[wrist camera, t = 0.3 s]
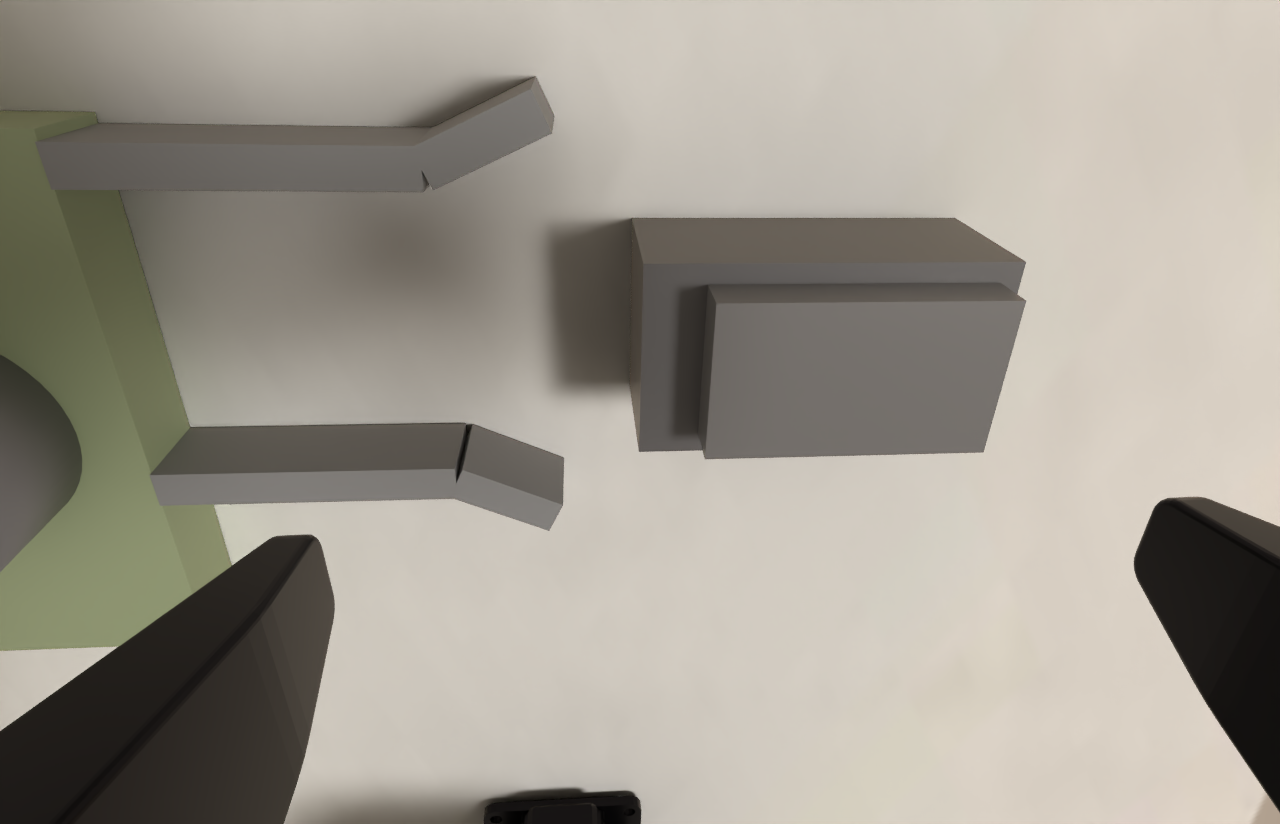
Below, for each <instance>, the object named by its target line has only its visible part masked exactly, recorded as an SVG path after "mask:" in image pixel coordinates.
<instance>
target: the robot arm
mask: <svg viewBox="0 0 1280 824" xmlns="http://www.w3.org/2000/svg"><path fill="white" fill-rule="evenodd" d="M1134 571H1135V574H1136V577H1137V580H1138V582H1139V584H1140V585H1141V587H1142V589H1143V591H1144V593H1145V595H1146V596H1147V598H1148V600H1149V602H1150V604H1151V605H1152V607H1153V609H1154V611H1155V613H1156V614H1157V616H1158V618H1159V620H1160V622H1161V624H1162V625H1163V627H1164V629H1165V631H1166V633H1167V634H1168V636H1169V638H1170V640H1171V642H1172V643H1173V645H1174V647H1175V649H1176V651H1177V653H1178V654H1179V656H1180V658H1181V660H1182V662H1183V663H1184V665H1185V667H1186V669H1187V671H1188V672H1189V674H1190V676H1191V678H1192V680H1193V682H1194V683H1195V685H1196V687H1197V688H1198V690H1199V692H1200V694H1201V695H1202V697H1203V699H1204V700H1205V702H1206V704H1207V705H1208V707H1209V708H1210V710H1211V711H1212V713H1213V715H1214V716H1215V718H1216V719H1217V721H1218V722H1219V724H1220V725H1221V727H1222V728H1223V730H1224V731H1225V733H1226V734H1227V736H1228V737H1229V739H1230V740H1231V742H1232V743H1233V744H1234V746H1235V747H1236V749H1237V750H1238V752H1239V753H1240V755H1241V756H1242V758H1243V759H1244V761H1245V762H1246V764H1247V765H1248V767H1249V768H1250V770H1251V771H1252V772H1253V774H1254V775H1255V777H1256V778H1257V780H1258V781H1259V783H1260V784H1261V786H1262V787H1263V789H1264V790H1265V792H1266V793H1267V795H1268V796H1269V798H1270V799H1271V801H1272V802H1273V803H1274V805H1275V806H1276V808H1277V809H1278V811H1279V812H1280V527H1279V526H1276V525H1274V524H1271V523H1269V522H1266V521H1264V520H1261V519H1259V518H1256V517H1253V516H1251V515H1248V514H1246V513H1243V512H1241V511H1238V510H1236V509H1233V508H1230V507H1228V506H1225V505H1223V504H1220V503H1218V502H1215V501H1213V500H1210V499H1207V498H1203V497H1179V498H1167V499H1164V500H1162V501H1160V502H1159V503H1158V504H1157V505H1156V506H1155V508H1154V509H1153V511H1152V514H1151V516H1150V519H1149V521H1148V524H1147V526H1146V529H1145V531H1144V534H1143V536H1142V539H1141V541H1140V544H1139V546H1138V548H1137V551H1136V553H1135V557H1134ZM334 610H335V603H334V595H333V590H332V586H331V582H330V578H329V574H328V570H327V566H326V562H325V558H324V554H323V550H322V547H321V544H320V542H319V540H318V539H317V538H316V537H314V536H313V535H285V536H275V537H272V538H271V539H269V540H267V541H266V542H264V543H263V544H262V545H260V546H259V547H257V548H256V549H255V550H253V551H252V552H250V553H249V554H248V555H246V556H245V557H243V558H242V559H241V560H239V561H238V562H236V563H235V564H234V565H232V566H231V567H229V568H228V569H227V570H225V571H224V572H222V573H221V574H220V575H218V576H217V577H215V578H214V579H213V580H211V581H210V582H208V583H207V584H206V585H204V586H203V587H201V588H200V589H199V590H197V591H196V592H194V593H193V594H192V595H190V596H189V597H187V598H186V599H185V600H183V601H182V602H180V603H179V604H178V605H176V606H175V607H173V608H172V609H171V610H169V611H168V612H166V613H165V614H164V615H162V616H161V617H159V618H158V619H157V620H155V621H154V622H152V623H151V624H150V625H148V626H147V627H145V628H144V629H143V630H141V631H140V632H138V633H137V634H136V635H134V636H133V637H131V638H130V639H129V640H127V641H126V642H124V643H123V644H122V645H120V646H119V647H117V648H116V649H115V650H113V651H112V652H110V653H109V654H108V655H106V656H105V657H103V658H102V659H101V660H99V661H98V662H96V663H95V664H94V665H92V666H91V667H89V668H88V669H87V670H85V671H84V672H82V673H81V674H80V675H78V676H77V677H75V678H74V679H73V680H71V681H70V682H68V683H67V684H66V685H64V686H63V687H61V688H60V689H59V690H57V691H56V692H54V693H53V694H52V695H50V696H49V697H47V698H46V699H45V700H43V701H42V702H40V703H39V704H38V705H36V706H35V707H33V708H32V709H31V710H29V711H28V712H26V713H25V714H24V715H22V716H21V717H19V718H18V719H17V720H15V721H14V722H12V723H11V724H10V725H8V726H7V727H5V728H4V729H3V730H1V731H0V824H284V821H285V818H286V815H287V812H288V809H289V806H290V803H291V800H292V797H293V794H294V790H295V787H296V784H297V781H298V778H299V774H300V771H301V768H302V764H303V761H304V758H305V753H306V749H307V745H308V740H309V736H310V731H311V727H312V722H313V717H314V712H315V707H316V702H317V697H318V693H319V688H320V683H321V678H322V673H323V668H324V663H325V659H326V654H327V649H328V644H329V639H330V634H331V629H332V625H333V619H334ZM484 824H641V804H640V800H639V799H638V798H637V797H634V796H616V797H598V798H579V799H561V800H543V801H524V802H506V803H494V804H490V805H488V806H487V807H486V808H485V814H484Z"/></svg>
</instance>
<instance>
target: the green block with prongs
mask: <svg viewBox="0 0 1280 824" xmlns="http://www.w3.org/2000/svg"><path fill="white" fill-rule="evenodd" d="M553 122H554V114H553V112H552V110H551V108H550V106H549V104H548V101H547V99H546V97H545V95H544V93H543V91H542V89H541V86H540V84H539V82H538V80H537V78H536V76H535V77H533V78H531V79H529V80H527V81H525V82H523V83H521V84H519V85H517V86H515V87H513V88H511V89H509V90H507V91H505V92H503V93H501V94H499V95H497V96H495V97H493V98H491V99H489V100H487V101H485V102H483V103H481V104H479V105H477V106H475V107H473V108H471V109H469V110H467V111H465V112H462V113H460V114H458V115H456V116H454V117H452V118H450V119H448V120H446V121H444V122H442V123H440V124H438V125H436V126H434V127H358V126H282V125H206V124H131V123H98V121H97V117H96V114H95V112H58V111H0V651H8V650H35V649H61V648H88V647H115V646H120V645H122V644H123V643H124V642H126V641H127V640H129V639H130V638H131V637H133V636H134V635H136V634H137V633H138V632H140V631H141V630H143V629H144V628H145V627H147V626H148V625H150V624H151V623H152V622H154V621H155V620H157V619H158V618H159V617H161V616H162V615H164V614H165V613H166V612H168V611H169V610H171V609H172V608H173V607H175V606H176V605H178V604H179V603H180V602H182V601H183V600H185V599H186V598H187V597H189V596H190V595H192V594H193V593H194V592H196V591H197V590H199V589H200V588H201V587H203V586H204V585H206V584H207V583H208V582H210V581H211V580H213V579H214V578H215V577H217V576H218V575H220V574H221V573H222V572H224V571H225V570H227V569H228V568H229V567H231V566H232V565H231V562H230V558H229V555H228V552H227V548H226V545H225V542H224V538H223V535H222V532H221V529H220V525H219V522H218V519H217V515H216V512H215V509H214V505H213V504H254V503H296V502H338V501H380V500H422V499H456V500H459V501H462V502H465V503H468V504H471V505H474V506H477V507H480V508H483V509H486V510H489V511H492V512H495V513H498V514H501V515H504V516H507V517H510V518H513V519H516V520H519V521H522V522H525V523H528V524H531V525H534V526H537V527H540V528H542V529H545V530H548V531H549V530H550V528H551V526H552V525H553V523H554V521H555V519H556V517H557V515H558V513H559V512H560V510H561V508H562V506H563V478H564V458H563V457H560V456H557V455H555V454H552V453H549V452H547V451H544V450H541V449H538V448H536V447H533V446H530V445H528V444H525V443H522V442H519V441H517V440H514V439H511V438H509V437H506V436H503V435H500V434H498V433H495V432H492V431H489V430H487V429H484V428H481V427H479V426H476V425H472V427H471V430H470V432H469V434H468V436H467V432H466V423H451V424H390V425H329V426H268V427H207V428H190V426H189V422H188V419H187V416H186V412H185V409H184V406H183V403H182V399H181V396H180V393H179V389H178V386H177V383H176V379H175V376H174V373H173V369H172V366H171V363H170V359H169V356H168V353H167V350H166V346H165V343H164V340H163V336H162V333H161V330H160V326H159V323H158V320H157V316H156V313H155V310H154V306H153V303H152V300H151V296H150V293H149V290H148V287H147V283H146V280H145V277H144V273H143V270H142V267H141V263H140V260H139V257H138V253H137V250H136V247H135V243H134V240H133V237H132V234H131V230H130V227H129V224H128V220H127V217H126V214H125V210H124V207H123V204H122V200H121V197H120V194H119V190H176V191H324V192H424V191H425V190H426V188H427V187H428V186H429V184H430V186H431V187H432V189H433V190H435V189H437V188H439V187H441V186H443V185H445V184H447V183H449V182H451V181H454V180H456V179H458V178H460V177H462V176H464V175H466V174H468V173H470V172H472V171H474V170H476V169H479V168H481V167H483V166H485V165H487V164H489V163H491V162H493V161H495V160H497V159H499V158H501V157H503V156H506V155H508V154H510V153H512V152H514V151H516V150H518V149H520V148H522V147H524V146H526V145H528V144H531V143H533V142H535V141H537V140H539V139H541V138H543V137H545V136H547V135H549V134H551V133H552V129H553Z"/></svg>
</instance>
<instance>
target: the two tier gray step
mask: <svg viewBox="0 0 1280 824" xmlns="http://www.w3.org/2000/svg"><path fill="white" fill-rule="evenodd" d="M1025 264H1026V262H1025V261H1024V260H1022V259H1020V258H1019V257H1017V256H1015V255H1014V254H1012V253H1011V252H1009V251H1007V250H1006V249H1004V248H1003V247H1001V246H999V245H998V244H996V243H995V242H993V241H991V240H990V239H988V238H986V237H985V236H983V235H982V234H980V233H978V232H977V231H975V230H974V229H972V228H970V227H969V226H967V225H966V224H964V223H962V222H961V221H959V220H957V219H956V218H632V249H631V313H630V376H629V385H630V392H631V399H632V406H633V413H634V420H635V427H636V434H637V441H638V448H639V452H648V451H690V450H703V454H704V457H705V459H733V458H773V457H814V456H855V455H896V454H936V453H977V452H984V449H985V445H986V441H987V438H988V434H989V431H990V427H991V424H992V420H993V417H994V413H995V410H996V406H997V402H998V399H999V395H1000V392H1001V388H1002V385H1003V381H1004V378H1005V374H1006V371H1007V367H1008V363H1009V360H1010V356H1011V353H1012V349H1013V346H1014V342H1015V339H1016V335H1017V332H1018V328H1019V324H1020V321H1021V317H1022V314H1023V310H1024V307H1025V303H1026V300H1024V299H1023V298H1021V297H1020V296H1019V295H1017V293H1018V289H1019V286H1020V282H1021V278H1022V275H1023V271H1024V267H1025Z"/></svg>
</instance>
